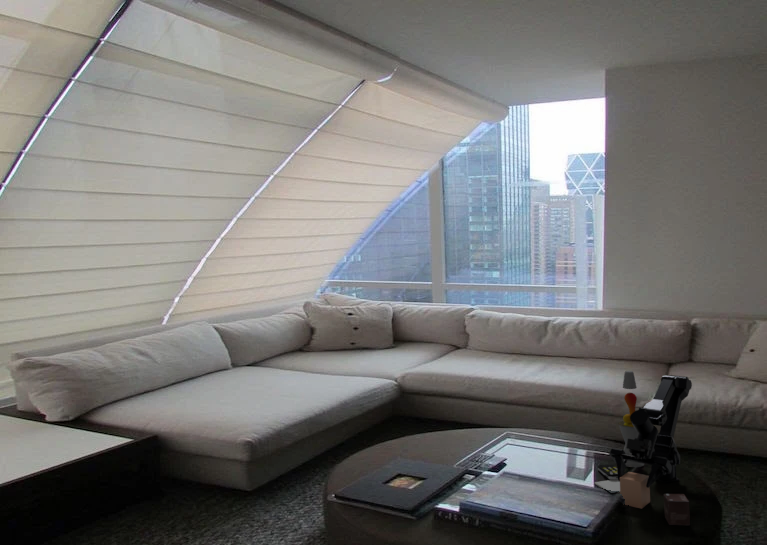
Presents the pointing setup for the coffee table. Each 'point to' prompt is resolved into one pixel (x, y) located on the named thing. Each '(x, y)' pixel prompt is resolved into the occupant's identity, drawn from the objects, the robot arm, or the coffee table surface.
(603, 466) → the remote control
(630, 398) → the lava lamp
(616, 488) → the mat
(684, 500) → the box
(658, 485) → the coffee table surface
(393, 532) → the coffee table surface
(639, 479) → the tan block
